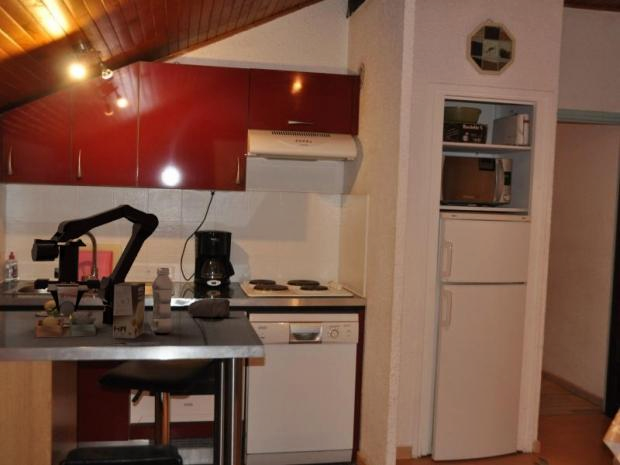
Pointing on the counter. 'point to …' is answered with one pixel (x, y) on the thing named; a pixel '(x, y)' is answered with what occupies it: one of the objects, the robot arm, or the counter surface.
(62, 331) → the wooden sorting board
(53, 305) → the burger
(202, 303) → the perforated stone tool
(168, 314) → the plastic bottle
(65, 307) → the slate ball
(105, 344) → the counter surface
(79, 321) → the slate ball
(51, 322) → the ochre ball
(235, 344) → the counter surface
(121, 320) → the coffee box
